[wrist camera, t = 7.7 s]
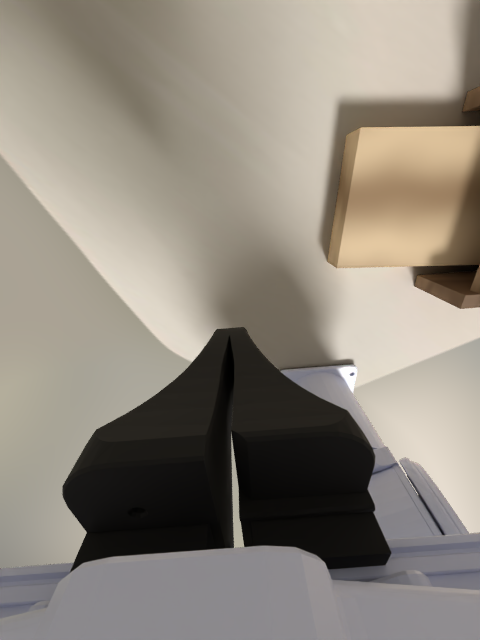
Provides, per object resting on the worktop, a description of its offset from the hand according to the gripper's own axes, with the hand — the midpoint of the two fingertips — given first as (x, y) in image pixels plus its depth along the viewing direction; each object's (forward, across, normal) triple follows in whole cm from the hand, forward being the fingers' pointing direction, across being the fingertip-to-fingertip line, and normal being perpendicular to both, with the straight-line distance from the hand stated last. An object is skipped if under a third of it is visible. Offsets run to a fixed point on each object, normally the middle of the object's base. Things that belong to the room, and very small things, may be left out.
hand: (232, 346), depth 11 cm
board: (+11, -15, -5) cm, 19 cm away
